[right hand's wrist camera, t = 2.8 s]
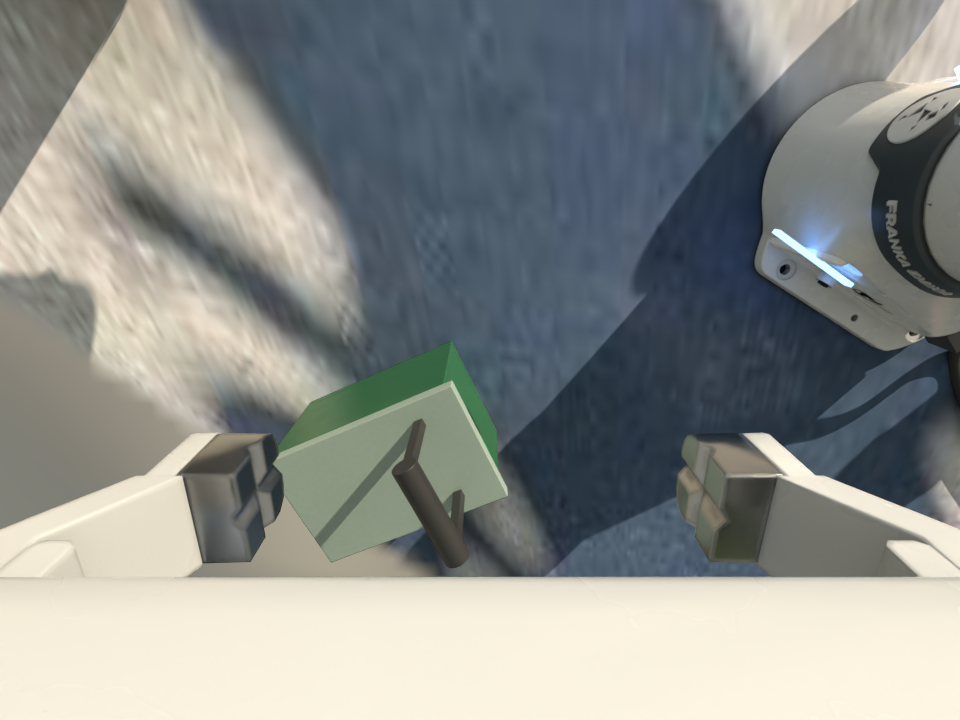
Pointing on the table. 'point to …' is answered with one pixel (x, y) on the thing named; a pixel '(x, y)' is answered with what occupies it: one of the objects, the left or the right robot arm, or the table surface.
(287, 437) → the chest
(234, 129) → the table surface
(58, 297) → the table surface
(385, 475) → the lid
